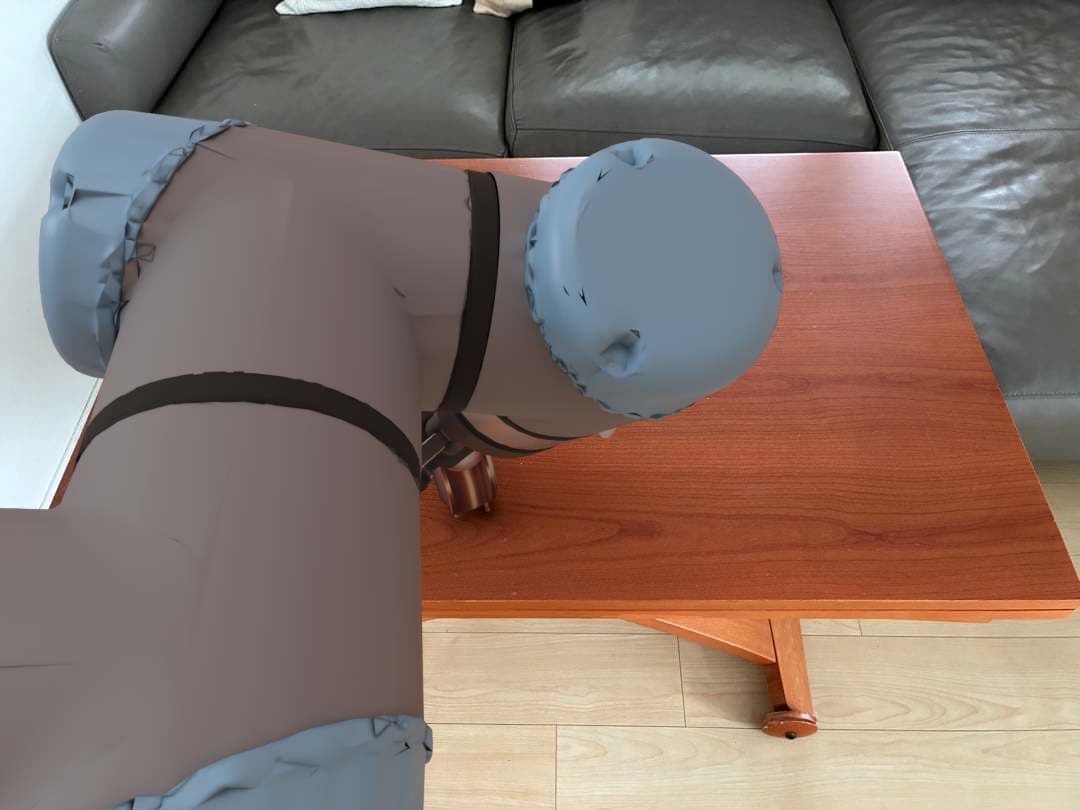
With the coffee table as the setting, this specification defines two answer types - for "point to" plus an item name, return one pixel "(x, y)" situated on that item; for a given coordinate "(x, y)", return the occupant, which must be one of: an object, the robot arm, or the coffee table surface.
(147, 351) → the robot arm
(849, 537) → the coffee table surface
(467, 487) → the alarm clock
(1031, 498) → the coffee table surface
